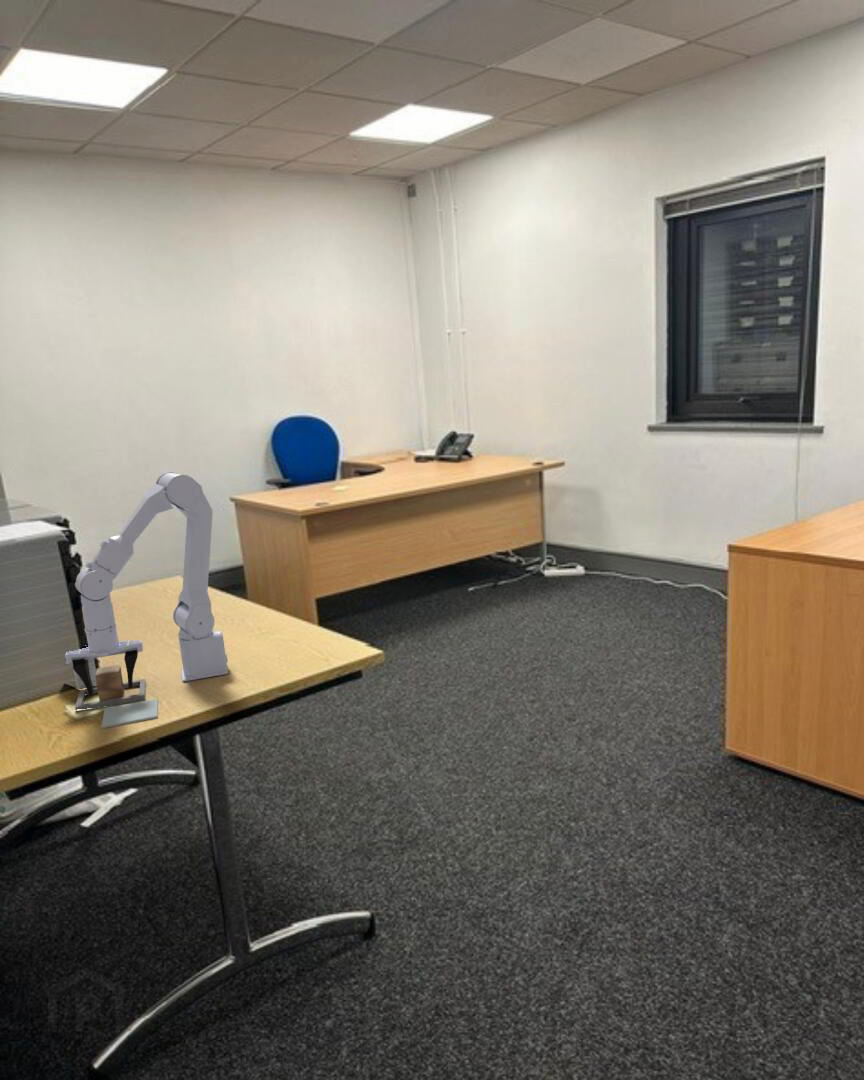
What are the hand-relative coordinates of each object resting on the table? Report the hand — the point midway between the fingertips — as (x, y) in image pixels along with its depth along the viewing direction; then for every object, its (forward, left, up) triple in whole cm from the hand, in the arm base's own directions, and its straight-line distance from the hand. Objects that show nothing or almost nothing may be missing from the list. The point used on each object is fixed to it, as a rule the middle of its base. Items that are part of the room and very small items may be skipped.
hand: (111, 689), depth 161 cm
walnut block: (0, 0, -2) cm, 2 cm away
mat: (-4, +11, -2) cm, 12 cm away
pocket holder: (0, 0, -2) cm, 2 cm away
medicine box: (+7, -11, -2) cm, 13 cm away
